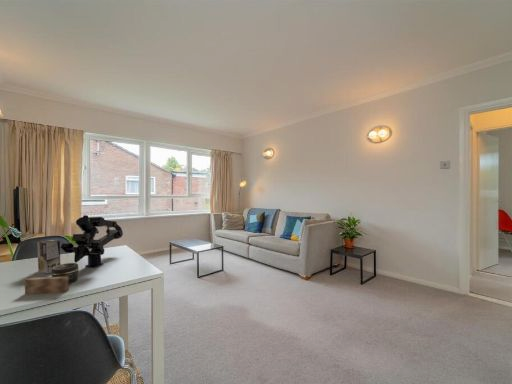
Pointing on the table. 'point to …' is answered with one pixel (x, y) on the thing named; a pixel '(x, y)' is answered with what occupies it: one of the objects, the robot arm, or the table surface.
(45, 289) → the walnut board
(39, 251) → the coffee box
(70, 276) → the jar
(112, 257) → the table surface
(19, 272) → the table surface
